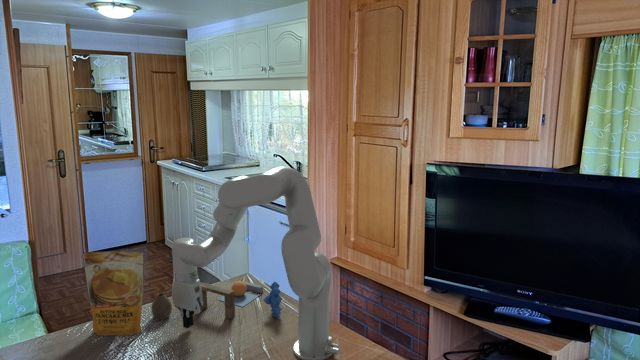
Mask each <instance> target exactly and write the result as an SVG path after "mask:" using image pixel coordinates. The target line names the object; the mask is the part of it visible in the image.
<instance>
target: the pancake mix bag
mask: <svg viewBox="0 0 640 360" xmlns="http://www.w3.org/2000/svg"><path fill="white" fill-rule="evenodd" d="M81 256H82V261H83V262H82V263H83V270H84V274H85V282H86V287H87V293H88V297H89V305H90V310H91V315H92V331H91V332H92V334H96V335H97V336H98V337H118V336H119V337H120V336H121V337H127V336H128V337H129V336H130V337H131V336H135V335H137V334H140V333H143V330H142V327H141V323H142V312H143V310H142V309H143V297H144V285H145V262H146V261H145V260H146V259H145V253H143V252H141V251H139V250H124V251H117V250H110V251H108V250H106V251H105V250H104V251H89V252H86V253H83V254H82V255H81Z"/></svg>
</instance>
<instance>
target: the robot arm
mask: <svg viewBox="0 0 640 360" xmlns="http://www.w3.org/2000/svg"><path fill="white" fill-rule="evenodd" d="M281 197H283V198H284V200H285V203H284V204H285V213H286V217H287V222H288V227H289V230H287V232H285V234H284V235H283V237H282V240H281V247H280V248H281V249H280V250H281V255H282V260H283V264H284V268H285V269H284V270H285V272H286V277H287V280H288V284H289V287H290V288H291V290H292V292H293V294H295V295H296V296H297V297H298V310H297V311H298V331H297V332H298V340H296V341H295V343H294V344H293V353H294V355H295V356H296V357H297V358H298V359H301V360H327V359H328V358H330V357H331V356H332V355H335V356H338V355H339V354H340V344H338V343H334V342H333V339H332V338H333V337H332V336H330V293H331V283H332V281H331V280H332V265H331V262H330V260H329V258H328V257H327V256H326V255H325V254H323V253H320V252H315V251H316V250H317V249H318V248H319V246H320V244H321V242H322V234H321V230H320V225H319V222H318V221H319V220H318V217H317V213H316V209H315V206H314V201H313V197H312V192H311V189H310V186H309V183H308V181H307V179H306V178H305V176H304V175H302V173H301V172H300V171H298V170H297V169H295V168H291V167H290V166H276V167H273V168H271V169H269V170H266V171H265V172H263V173H261V174H256V175H252V176H247V175H239V176H236V177H233V178H231V179H228V180H226V181H225V182H223V183H222V184H221V186H220V187H219V188H218V192H217V199H218V203H217V205H216V207H215V209H214V210H213V213H212V215H213V219H214V221H215V222H216V223H215V225H214V227H213V228H212V231H210V234H209V235H208V236H207V237H206V238H204V239H203V240H201V241H200V242H196V241H195V239H194V238H191V237H182V238H176V239H175V240H173V241H172V244H171V252H172V255H171V256H172V269H173V280H172V285H171V300H172V304H173V305H174V307H175V308H176V309H178V310H179V312H180V316H181V317H182V327H183V328H185V329H189V328H190V327H192V326H194V315H198V314H200V313H201V312H202V311H201V310H200V306H203V294H202V288H201V280H200V276H199V275H198V268H205V267H207V266H209V265H210V264H211V263H213V262H214V261H215V260H216V259H218V258H219V257H220V256H222V255H223V254H224V253H225V251H226V250H227V248H228V247H229V245H230V244H231V242H232V241H233V239H234V237H235V234H236V232H237V229H238V226H239V223H240V222H241V220H242V218H243V217H244V215H245V214H246V212H247V210H248V209H249V208H250V207H257V206H260V205H266V204H271V203H273V202H275V201H276V200H278V199H280V198H281Z"/></svg>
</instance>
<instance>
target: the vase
mask: <svg viewBox="0 0 640 360" xmlns="http://www.w3.org/2000/svg"><path fill="white" fill-rule="evenodd" d="M172 304H173V303H172V302H171V300H170V299H169V298H168V297H167V296H166V294H165V293H163V292H162V293H161V292H160V293H157V295H156V297H155V299H154V300H153V301H152V304H151V307H150V308H151V314H152V316H153V317H154V318H155V320H158V321H162V320H167V318H169V317H170V316H171V313H172V312H173V311H172V310H173V305H172Z"/></svg>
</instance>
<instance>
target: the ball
mask: <svg viewBox="0 0 640 360" xmlns="http://www.w3.org/2000/svg"><path fill="white" fill-rule="evenodd" d="M242 281H243V280H242ZM242 281H241V280H237V281H234V282H233V283H232V285H231V288H230V290H233V291H234V295H235V296H238V297H240V296H243V295H244V294H245V293H246V290H247V286H246V284H245V283H244V282H242ZM247 291H248V290H247Z"/></svg>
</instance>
